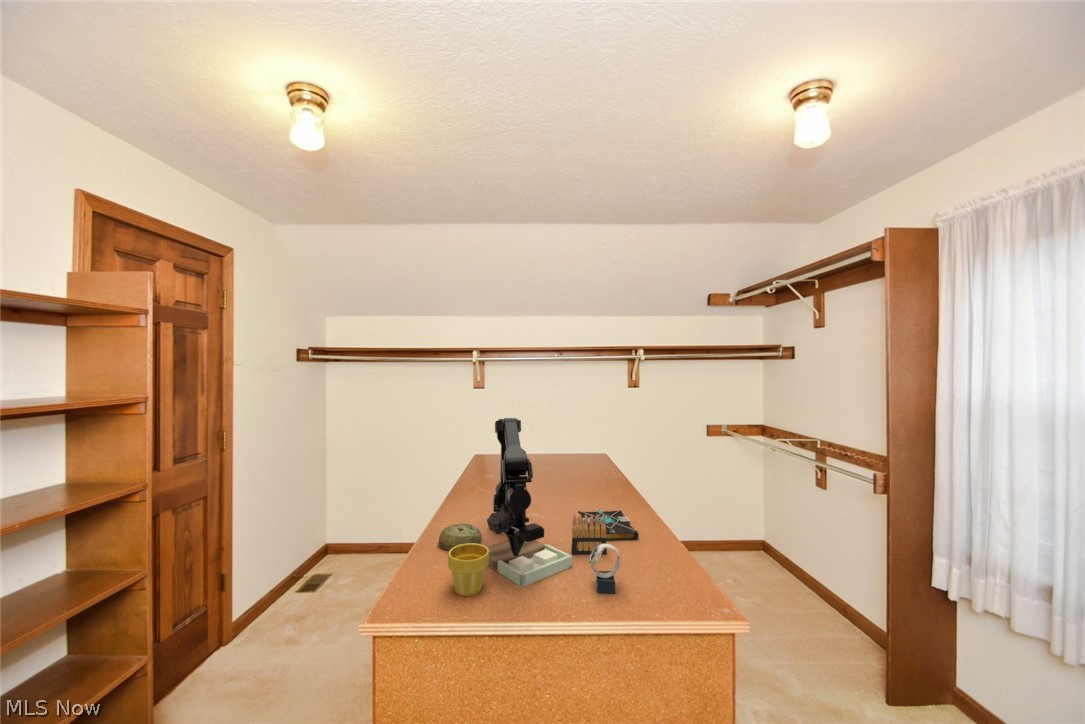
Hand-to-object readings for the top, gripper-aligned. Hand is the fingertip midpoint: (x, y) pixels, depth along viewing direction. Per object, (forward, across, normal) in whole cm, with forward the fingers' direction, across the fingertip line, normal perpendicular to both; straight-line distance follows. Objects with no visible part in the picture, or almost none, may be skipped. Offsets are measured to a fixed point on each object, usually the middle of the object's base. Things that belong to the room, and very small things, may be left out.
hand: (515, 555), depth 122 cm
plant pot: (+4, +1, -16) cm, 16 cm away
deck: (+4, -7, +4) cm, 9 cm away
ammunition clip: (+4, +6, +23) cm, 24 cm away
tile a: (+3, +3, +9) cm, 10 cm away
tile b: (+3, +2, +1) cm, 4 cm away
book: (+4, -4, +42) cm, 43 cm away
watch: (+4, +23, +11) cm, 26 cm away
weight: (+4, -26, -3) cm, 26 cm away
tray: (+4, +4, +4) cm, 7 cm away
